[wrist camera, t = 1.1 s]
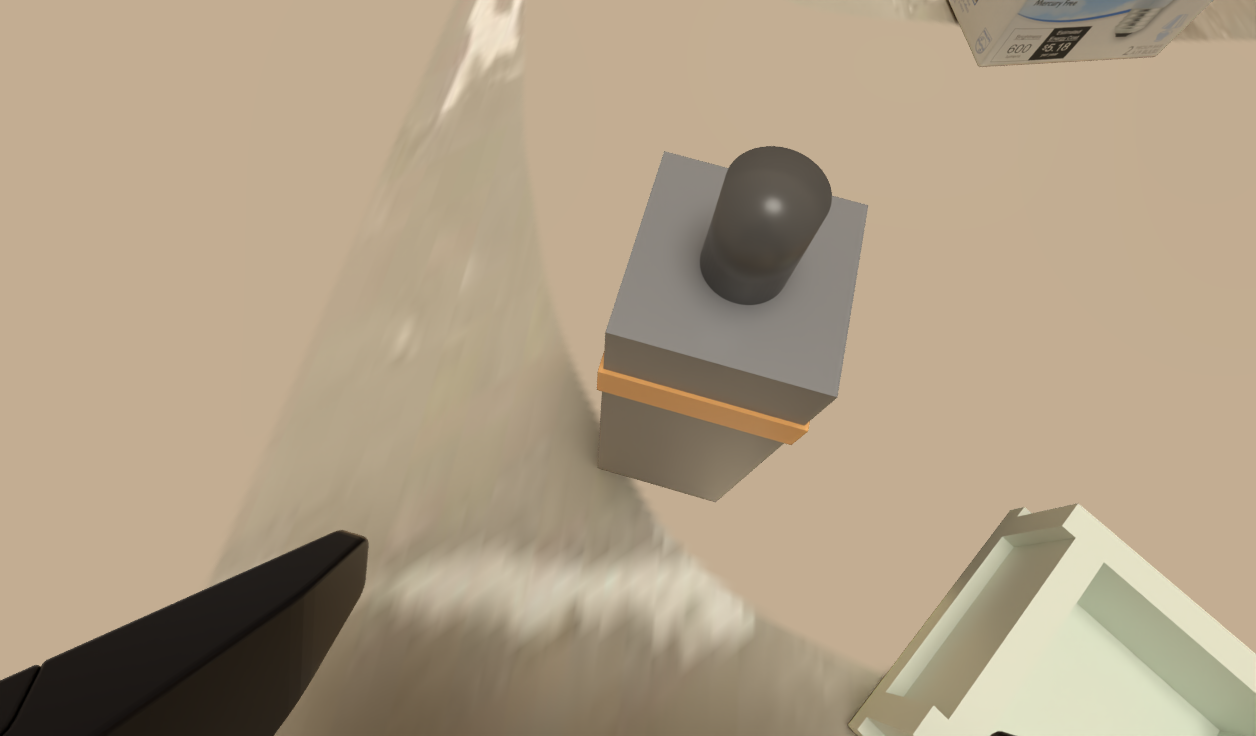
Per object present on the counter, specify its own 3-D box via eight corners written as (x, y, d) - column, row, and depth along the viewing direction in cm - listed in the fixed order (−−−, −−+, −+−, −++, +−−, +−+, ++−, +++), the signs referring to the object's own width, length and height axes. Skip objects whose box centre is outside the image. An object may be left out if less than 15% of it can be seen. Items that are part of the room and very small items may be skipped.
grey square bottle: (717, 505, 23) (902, 353, 9) (594, 469, 23) (601, 270, 10) (743, 389, 24) (931, 120, 11) (628, 357, 25) (674, 54, 11)
